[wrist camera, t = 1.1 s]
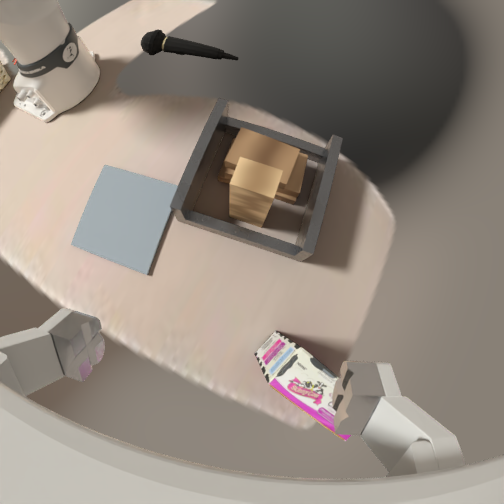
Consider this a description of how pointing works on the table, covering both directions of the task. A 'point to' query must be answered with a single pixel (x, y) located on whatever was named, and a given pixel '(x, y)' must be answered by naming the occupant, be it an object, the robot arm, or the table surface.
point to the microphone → (179, 46)
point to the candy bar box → (299, 378)
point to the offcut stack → (267, 161)
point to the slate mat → (125, 218)
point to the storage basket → (3, 77)
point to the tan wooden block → (252, 191)
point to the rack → (184, 213)
